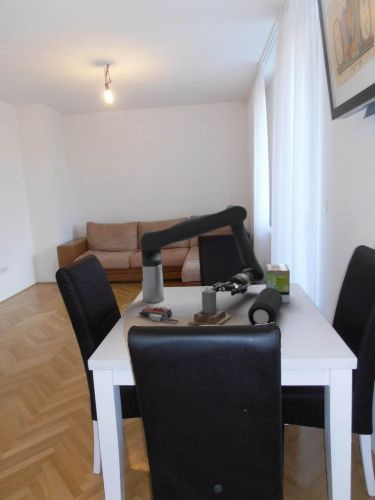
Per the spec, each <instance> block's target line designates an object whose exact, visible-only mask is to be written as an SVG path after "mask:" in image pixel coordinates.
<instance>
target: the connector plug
mask: <svg viewBox="0 0 375 500" xmlns="http://www.w3.org/2000/svg"><path fill="white" fill-rule="evenodd" d="M204 287H205V288H204V289H205V290H203V291H201V301H202V306H201V307H202V309H203V314H204V315H210V316H214V315H215V314H217V313H218V309H217V308H218V307H217V293H216V291H215V290H212V289H213V286H208V285H206V286H204Z"/></svg>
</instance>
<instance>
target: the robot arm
mask: <svg viewBox="0 0 375 500" xmlns="http://www.w3.org/2000/svg"><path fill="white" fill-rule="evenodd" d="M247 218H248V211H247V209H246V208H245V207H244V205H241V204H237V203H233V204H229V205H228V206H227V207H226V208H225V209H223V210H220V211H217V212H214V213H208V214H207V213H206V214H200V215H197V216H193V217H190V218H187V219H183V220H182V221H180V222H178V223H176V224H174V225H171V226H170V227H167V228H164V229H161V230H157V231H156V230H155V231H154V230H147V231H145V232H143V233H142V235H141V237H140V248H141V249H140V250H141V264H142V279H143V280H142V281H141V287H142V288H141V289H142V300H143V301H145V302H146V303H152V304H153V303H161V302H163V301H164V299H165V295H164V294H165V293H164V291H165V290H164V280H163V279H164V278H163V264H162V263H163V261H162V248H165V247H166V246H169V245H171V244H174V243H181V242H183V241H188V240H191V239H195V238H198V237H200V236H203V235H206V234H209V233H212V232H213V231H217V230H219V229H222V228H226V227H230V229H231V232H232V235H233V237H234V241H235V243H236V247H237V250H238V254H239V257H240V259H241V263H242V264H243V266H244V265H245V266H249V267H250V268H245V269H243V270H242V271H241V273H237V274H236V275H234V276H231V277H230V278H229V279H228V280H227V282H223V283H222V281H219V282H216V283H214V284H212V290H215V291H216V294H217V293H218V292H221V293H223V292H228V293H229V292H230V296H231V297H233V296H235V295H239V294H240V295H244V294H245V293H246V292H248V287H251V285H252V284H253V283H259V282H262V281H264V278H265V272H264V269H263V268H262V266H261V264H260V263H259V261H258V260H257V258H256V255H255V254H256V253H255V251H254V247H253V244H252V242H251V240H250V238H249V236H248V234H247V230H246V227H245V224H244V221H245V220H246V219H247Z"/></svg>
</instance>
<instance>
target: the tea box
mask: <svg viewBox="0 0 375 500" xmlns="http://www.w3.org/2000/svg"><path fill="white" fill-rule="evenodd" d="M290 278H291V270H290V268H289V267H288V264H287V263H275V264H274V263H267V264H266V265H265V288H274V289H276V290H277V291H279V293H280V294H281V296H282V303H290V297H291V296H290V295H291V292H290V291H291V288H290V287H291V286H290V285H291V283H290V282H291V281H290V280H291V279H290Z"/></svg>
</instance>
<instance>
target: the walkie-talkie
mask: <svg viewBox="0 0 375 500" xmlns="http://www.w3.org/2000/svg"><path fill="white" fill-rule="evenodd" d="M138 315H140V316H142V317H144V318H145V317H146V318H150V320H152V321H156V322H161V321H165V322H176V323H178V322H179V319H175V318H169V317H172V316H173V312H172V309H170V308H167V307H166V306H163V305H157V306H154V305H150V306H149V305H148V306H146V307H144V308H142V309H141V311H139V312H138Z"/></svg>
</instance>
